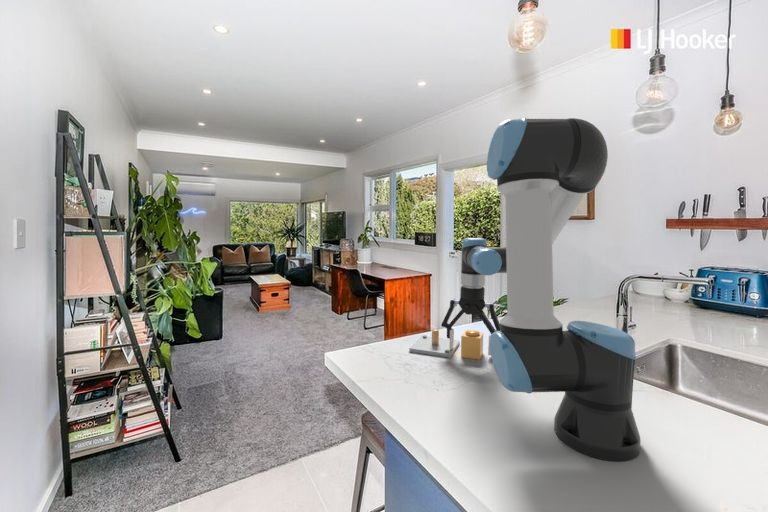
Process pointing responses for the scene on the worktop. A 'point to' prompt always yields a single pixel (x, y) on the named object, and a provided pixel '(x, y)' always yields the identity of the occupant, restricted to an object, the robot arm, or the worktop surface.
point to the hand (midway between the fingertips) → (470, 350)
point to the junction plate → (434, 345)
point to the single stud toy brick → (472, 344)
